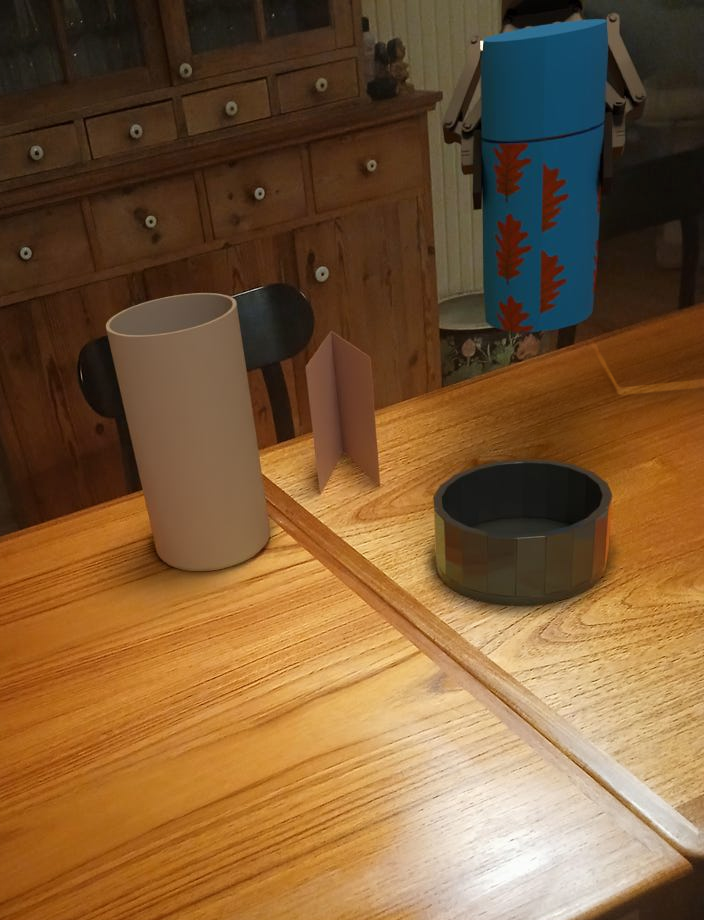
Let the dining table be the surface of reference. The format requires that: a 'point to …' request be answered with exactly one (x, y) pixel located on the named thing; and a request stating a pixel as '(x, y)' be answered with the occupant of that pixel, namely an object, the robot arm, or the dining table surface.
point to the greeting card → (342, 408)
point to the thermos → (542, 172)
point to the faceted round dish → (522, 531)
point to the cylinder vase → (192, 428)
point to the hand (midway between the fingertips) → (540, 194)
